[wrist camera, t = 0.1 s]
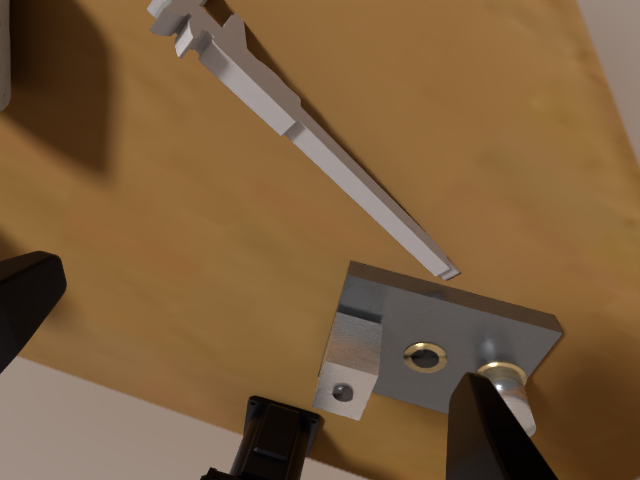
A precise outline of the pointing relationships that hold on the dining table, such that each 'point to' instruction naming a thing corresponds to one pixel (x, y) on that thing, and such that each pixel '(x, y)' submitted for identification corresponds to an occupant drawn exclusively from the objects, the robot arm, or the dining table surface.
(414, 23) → the dining table surface
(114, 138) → the dining table surface
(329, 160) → the caliper
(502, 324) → the plate
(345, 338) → the block
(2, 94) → the ceramic mug
